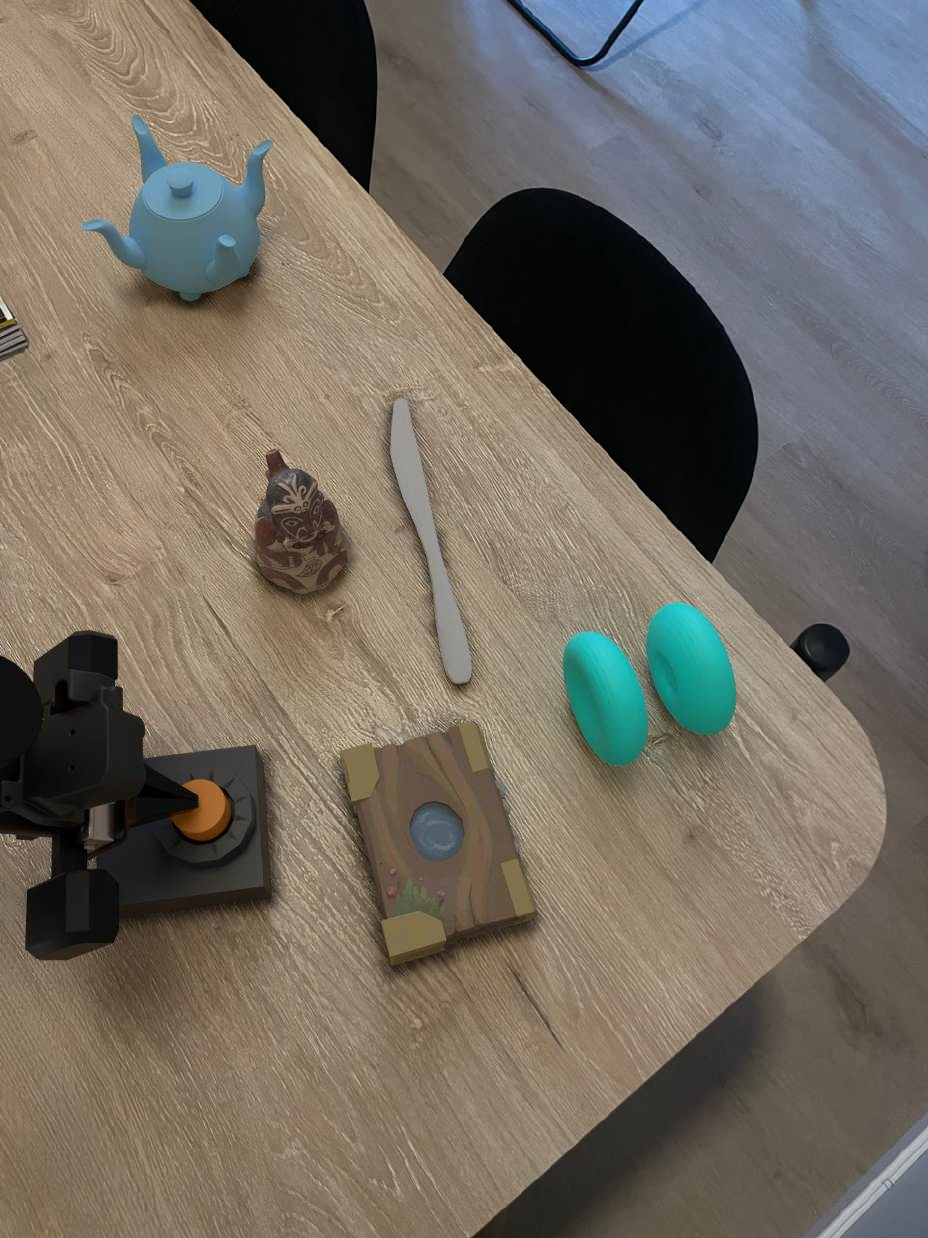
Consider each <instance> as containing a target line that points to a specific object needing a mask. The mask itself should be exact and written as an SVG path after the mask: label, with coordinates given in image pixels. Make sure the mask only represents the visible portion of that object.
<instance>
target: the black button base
mask: <svg viewBox="0 0 928 1238" xmlns="http://www.w3.org/2000/svg"><path fill="white" fill-rule="evenodd" d="M143 762H145V763H146V764H147V765H149V766H150V767H151V768H153V769H154V770H156V771H158V772H159V773H161V774H163V775H165V776H166V777H168V778H170V779H171V780H173V781H175V782H177V783H178V784H180V785H184V784H185V783H187V782H189V781H192V780H198V779H203V780H208V781H211V782H213V783H215V784H216V785H217V786H218V787H219V788H220V789H221V790H222V792H223V793H224V795H225V797H226V798H227V800H228V802H229V804H230V807H231V818H230V821H229V824H228V826H227V827H226V829H225V830H224V831H223V832H222V833H221V834H220V835H219V836H217V837H216V838H214V839H211V840H208V841H196V840H192V839H190V838H188V837H187V836H185V835H184V834H183V833H182V832H181V831H180V829H179V828H178V827H177V826H176V825H175V823H174V822H173V820H172V818H171V817H169V818H166V819H162V820H159V821H155V822H151V823H148V824H144V825H141V826H137V827H134V828H130V829H129V834H128V837H127V839H126V841H125V842H124V843H123V844H122V845H120V846H117V847H115V848H113V849H111V850H109V851H107V852H105V853H102V854H100V855H98V856H96V857H95V858H96V859H95V862H96V863H95V865H96V867H95V869H104V870H107V871H108V872H109V873H110V874H111V876H112V877H113V878H114V879H115V880H116V881H117V882H118V884H119V919H123V918H131V917H138V916H147V915H154V914H161V913H169V912H177V911H184V910H192V909H199V908H205V907H206V908H207V907H214V906H221V905H229V904H238V903H244V902H252V901H258V900H259V901H260V900H268V899H272V898H273V895H272V879H271V878H272V877H271V876H272V875H271V863H270V860H271V859H270V846H269V845H270V843H269V831H268V829H269V828H268V816H267V813H268V812H267V799H266V782H265V768H264V766H265V765H264V761H263V759H262V756H261V754H260V752H259V750H258V748H257V746H256V744H248V745H239V746H233V747H225V748H216V749H207V750H199V751H191V752H184V753H183V752H182V753H175V754H174V753H173V754H166V755H158V756H149V757H143Z"/></svg>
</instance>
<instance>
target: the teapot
mask: <svg viewBox="0 0 928 1238" xmlns="http://www.w3.org/2000/svg"><path fill="white" fill-rule="evenodd" d="M131 126H132V129H133V131H134V134H135V136H136V139H137V143H138V147H139V155H140V171H141V178H142V186H141V188H140V191H139V192H138V193H137V196H136V198H135V200H134V203H133V205H132V208H131V210H130V211H131V212H130V216H129V223H128V237H123V236H121V234H120V232H119V231H118V228H116V226H115V225H114V224H113V223H112V222H111V221H108V220H107V219H104V218H103V219H102V218H95V219H90V220H88V221H85V222H84V223H82V224H81V226H80V228H81V229H82V230H85V231H90V232H96V233H99V234H100V235H102V237H104V239H105V241H106V242H107V244H108V247H109V248H110V250H111V251H112V253H113V255H114V256H115V257H116V258H117V259H118V261H120V262H121V263H122V264H124V265H125V266H127V267H128V268H131V269H135V270H140V271H141V272H142V273H143V274H144V276H146V277H147V278H149V280H151V281H152V282H154V283H155V284H157V285H159V286H161V287H163V288H166V289H168V290H171V291H174V292H179V296H180V298H181V299H182V300H184V301H188V302H192V301H196V300H198V299H199V298H201V296H202V294H203V293H204V294H205V293H210V292H214V291H217V290H220V289H223V288H224V287H225V288H226V287H227V286H229V285H230V284H232V283H234V282H235V281H236V280H238V279H242V278H244V277H246V276H247V275H248V274H249V273H250V269H251V268H250V267H251V266H252V265H253V263H254V262H255V260H256V258H257V256H258V253H259V249H260V246H261V245H260V244H261V232H260V228H259V225H258V220H257V218H258V217H259V215H260V214H261V212H262V210H263V208H264V207H265V203H266V184H265V179H264V174H263V164H264V160H265V157H266V155H267V154H268V152H269V151H270V150H271V148H272V147H273V144H274V142H273V140H272V139H267V140H264V141H262V142H260V143H259V144H257V145H256V146H255V147H254V148H253V149H252V150H251V152H250V154H249V156H248V158H247V162H246V177H245V179H244V181H243V182H242V184H240V186H239V187H238V188H237V187H236V186H234V184H232V183H231V182H230V181H229V180H227V179H226V178H225V177H224V176H223V175H221V174H220V173H219V172H217V171H216V170H214V169H212V168H210V167H208V166H206V165H204V164H200V163H196V162H190V161H187V162H186V161H185V162H182V161H181V162H175V163H170V164H169V163H168V161H167V160H166V158H165V157H164V155H163V153H162V152H161V150H160V149H159V147H158V145H157V143H156V142H155V140H154V137H153V136H152V134H151V132H150V130H149V127H148V125H147V124H146V122H145V120H144V119H142V117H141V116H139V115H137V114H134V115H132V117H131Z"/></svg>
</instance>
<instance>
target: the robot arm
mask: <svg viewBox="0 0 928 1238" xmlns="http://www.w3.org/2000/svg"><path fill="white" fill-rule="evenodd" d="M32 669H33V670H32V678H31V677H30V676H29V674H28V673H27V672H26V671H25V670H24V669H22V668H21V666H19V665H18V664H17V663H16V662H14V661H12V660H11V659H9V658H7V657H6V656H4V655H1V654H0V835H11V836H15V840H16V841H27V842H30V841H31V842H33V841H35V840H37V839H38V838H49V839H51V858H50V859H51V860H50V861H51V862H50V863H51V864H50V878H49V879H47V880H44V881H42V882H40V883H38V884H36V885H34V886H32V887H29V888H27V889H26V900H25V901H26V903H25V935H24V936H25V937H24V950H25V951H26V952H28V953H29V954H30V955H31V956H32V957H34V958H35V959H36V960H39V961H43V962H44V961H46V962H47V961H69V960H72V959H74V958H78V957H80V956H83V955H85V954H89V953H91V952H94V951H96V950H99V949H102V948H104V947H107V946H111V945H113V944H115V942H116V939H117V937H118V935H119V933H120V918H119V884H118V882H117V881H116V880H115V879H114V878H113V877H112V876H111V874H110V873H109V872H108V871H107V870H104V869H96V868H88V861H90V860H92V859H94V858H96V856H98V855H100V854H102V853H105V852H107V851H109V850H111V849H113V848H115V847H117V846H120V845H122V844H123V843H124V842H125V841H126V839H127V837H128V834H129V829H130V828H134V827H137V826H141V825H144V824H148V823H151V822H155V821H159V820H162V819H166V818H169V817H173V816H176V815H180V814H183V813H187V812H190V811H193V810H195V809H197V808H199V802H198V801H199V796H198V795H197V794H195V793H194V792H192V791H190V790H188V789H187V788H185V787H183V786H182V785H180V784H178V783H177V782H175V781H173V780H171V779H170V778H168V777H166V776H165V775H163V774H161V773H159V772H158V771H156V770H154V769H153V768H151V767H150V766H149V765H147V764H146V763H145V762H143V758H144V738H145V736H146V724H145V722H144V720H143V718H141V716H139V715H136V714H134V713H131V712H128V711H126V710H124V688H123V687H122V686H118V685H116V681H117V680H118V679H119V640H118V639H117V638H116V637H115V636H114V635H113V634H111V633H110V634H109V633H104V632H100V631H96V630H91V629H85V630H77V631H74V632H72V633H71V634H69V635H68V636H67V637H66V638H65V639H63V640H61V641H60V642H59V643H57V644H55V645H54V646H53V647H51V648H50V649H49V650H48V651H45V652H44V653H43V654H42V655H41V656H39V657H37V658H36V659H35V660H34V661H33V668H32Z"/></svg>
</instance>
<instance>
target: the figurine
mask: <svg viewBox="0 0 928 1238" xmlns="http://www.w3.org/2000/svg"><path fill="white" fill-rule="evenodd" d="M264 456H265V461H266V465H267V468H268V469H267V470H265V471H264V474H265V477H266V479H267V481H268V484H267V487H266V491H265V497H264V498H263V500H261V502H260V504H259V506H258V508H257V511H256V513H255V519H254V527H253V528H254V549H255V550H254V551H255V557H256V560H257V565H258V567H259V569H260V571H261V573H262V575H263V576H264V577H265V578H266V579H267V580H268V581H270V582H272V583H274V584H275V585H277V586H278V587H281V588H284V589H287V590H291V591H292V592H293V593H296V594H299V595H300V594H301V595H306V594H310V593H312V592H314V591H321V590H323V589H325V588H327V587H328V586H329V585H330V583H331V582H332V581H333V580H334V579H335V578H336V577H337V576H338V574H339V573H340V571H341V570H343V567H344V566H345V564H346V562H347V553H348V552H347V545H346V539H345V538H346V537H345V534H344V530H343V528H342V525H341V522H340V518H339V517H340V516H339V513H338V510H337V508H336V505H335V503H334V502H333V501H332V499H330V497H329V496H328V495H327V494H326V493H325V492H323V491H321V490H320V489H319V488H318V487H319V482H318V480H317V479H316V478H314V477H313V476H312V475H310V474H309V473H308V472H306V471H304V470H303V469H301V468H298V467H295V468H290V466H288V464H286V462H285V460H284V458H283V455H282V453H281V451H280V449H279V448H277V447H273V448H271V449H269V450H268V451H266V452H265V455H264Z"/></svg>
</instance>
